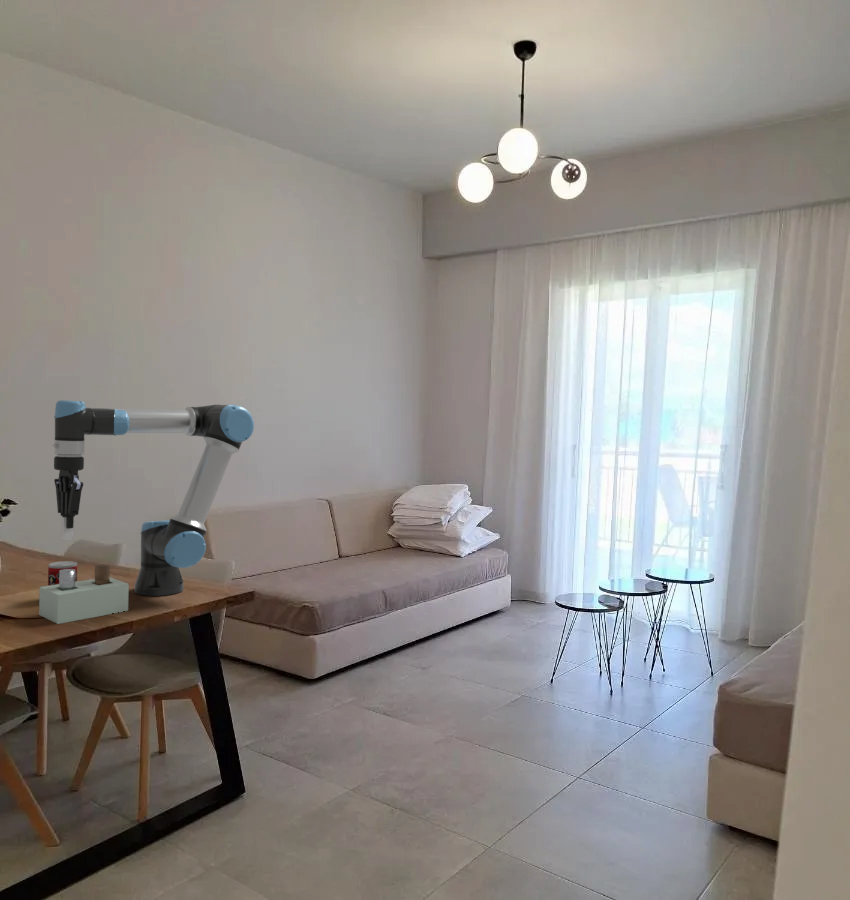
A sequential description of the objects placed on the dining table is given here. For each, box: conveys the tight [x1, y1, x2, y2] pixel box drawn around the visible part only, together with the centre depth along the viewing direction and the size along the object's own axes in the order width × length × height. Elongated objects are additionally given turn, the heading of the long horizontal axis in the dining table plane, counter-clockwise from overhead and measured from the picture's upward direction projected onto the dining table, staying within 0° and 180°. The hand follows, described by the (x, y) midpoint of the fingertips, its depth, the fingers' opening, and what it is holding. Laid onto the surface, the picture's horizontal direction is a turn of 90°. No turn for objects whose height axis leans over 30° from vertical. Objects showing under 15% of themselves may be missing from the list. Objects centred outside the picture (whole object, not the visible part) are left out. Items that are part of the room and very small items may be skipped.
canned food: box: [47, 560, 78, 586], centre depth 223 cm, size 8×8×11 cm
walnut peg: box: [94, 563, 111, 585], centre depth 213 cm, size 4×4×8 cm
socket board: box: [38, 576, 130, 625], centre depth 209 cm, size 20×12×8 cm, turn 140°
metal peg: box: [59, 569, 75, 591], centre depth 205 cm, size 4×4×8 cm
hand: (67, 539), depth 205 cm, fingers closed
